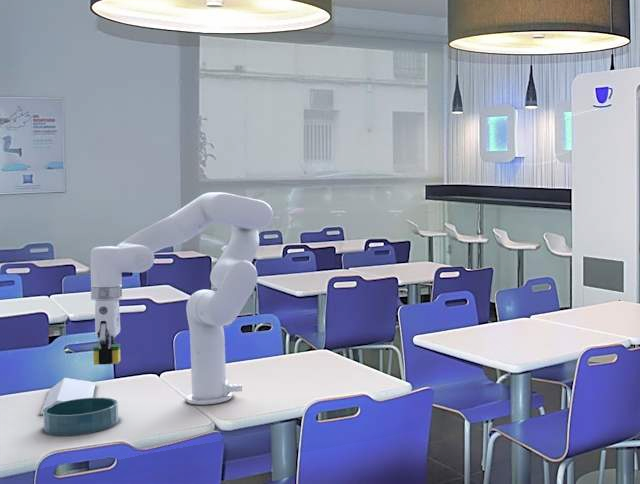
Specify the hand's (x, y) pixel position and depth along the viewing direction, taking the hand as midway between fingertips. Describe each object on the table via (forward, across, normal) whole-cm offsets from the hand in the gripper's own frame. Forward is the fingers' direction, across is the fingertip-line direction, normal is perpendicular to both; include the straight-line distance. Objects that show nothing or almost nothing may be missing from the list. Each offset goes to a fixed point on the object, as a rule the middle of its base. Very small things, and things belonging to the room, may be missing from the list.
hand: (107, 361), depth 232 cm
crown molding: (+16, +27, +15) cm, 35 cm away
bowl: (+16, -2, +6) cm, 17 cm away
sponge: (0, 0, 0) cm, 0 cm away
